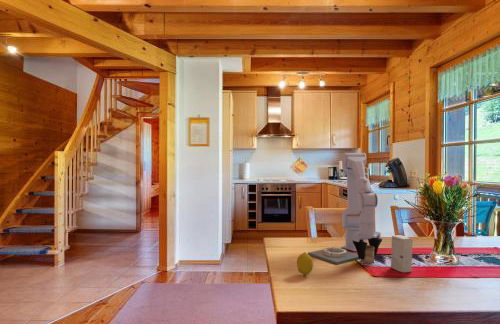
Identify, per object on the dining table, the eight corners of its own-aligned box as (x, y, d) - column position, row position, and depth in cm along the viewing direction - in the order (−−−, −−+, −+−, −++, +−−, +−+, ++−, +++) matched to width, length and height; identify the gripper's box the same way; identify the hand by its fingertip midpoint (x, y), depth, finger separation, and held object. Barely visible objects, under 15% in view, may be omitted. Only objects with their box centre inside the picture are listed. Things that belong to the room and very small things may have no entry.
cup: (365, 259, 129) (365, 244, 129) (377, 262, 124) (377, 247, 125) (357, 261, 126) (357, 246, 126) (369, 264, 121) (369, 249, 122)
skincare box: (390, 267, 118) (390, 235, 118) (400, 266, 119) (400, 234, 119) (402, 273, 112) (402, 238, 112) (413, 272, 113) (412, 238, 113)
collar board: (333, 249, 143) (333, 243, 144) (363, 258, 130) (363, 252, 130) (307, 254, 135) (307, 249, 135) (337, 264, 121) (337, 258, 121)
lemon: (303, 279, 105) (303, 255, 105) (293, 274, 110) (293, 251, 110) (316, 276, 108) (316, 253, 108) (306, 272, 113) (306, 249, 113)
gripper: (364, 226, 118) (364, 263, 118) (387, 222, 126) (387, 256, 126) (349, 223, 124) (349, 258, 124) (371, 220, 132) (371, 252, 132)
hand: (367, 257), depth 125 cm, fingers open, 7 cm apart
